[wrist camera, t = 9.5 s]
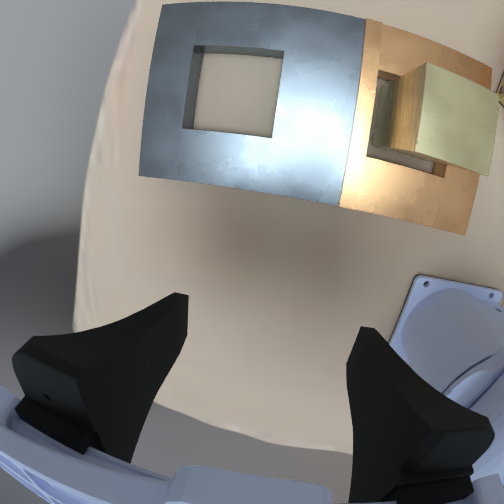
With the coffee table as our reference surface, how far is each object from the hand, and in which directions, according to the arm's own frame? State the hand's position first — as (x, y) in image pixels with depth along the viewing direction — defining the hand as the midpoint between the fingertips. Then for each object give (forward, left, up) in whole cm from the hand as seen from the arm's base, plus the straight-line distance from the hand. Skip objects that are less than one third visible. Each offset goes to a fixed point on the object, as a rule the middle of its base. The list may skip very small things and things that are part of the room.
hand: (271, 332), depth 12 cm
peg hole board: (-1, -10, -10) cm, 14 cm away
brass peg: (-7, -10, -10) cm, 16 cm away
